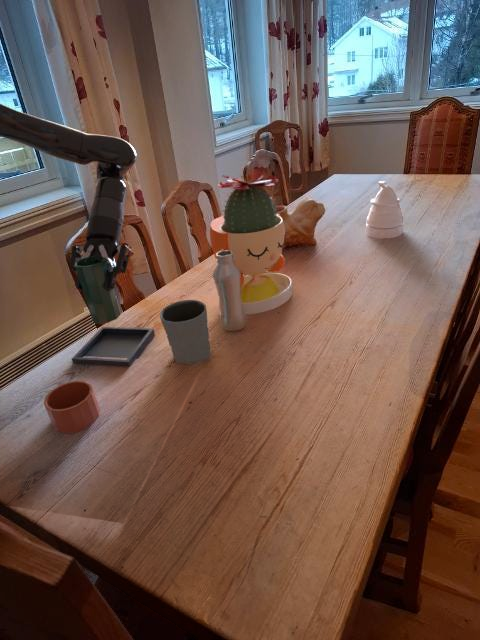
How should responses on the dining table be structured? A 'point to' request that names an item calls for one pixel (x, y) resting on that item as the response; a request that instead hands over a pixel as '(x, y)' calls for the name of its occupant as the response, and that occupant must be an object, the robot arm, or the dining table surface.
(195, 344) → the grey cup
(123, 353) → the tray
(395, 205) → the honey pot
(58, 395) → the short cup
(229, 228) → the potted cactus
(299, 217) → the tan lumpy piece
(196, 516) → the dining table surface
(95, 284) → the tall cup
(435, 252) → the dining table surface
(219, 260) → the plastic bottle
